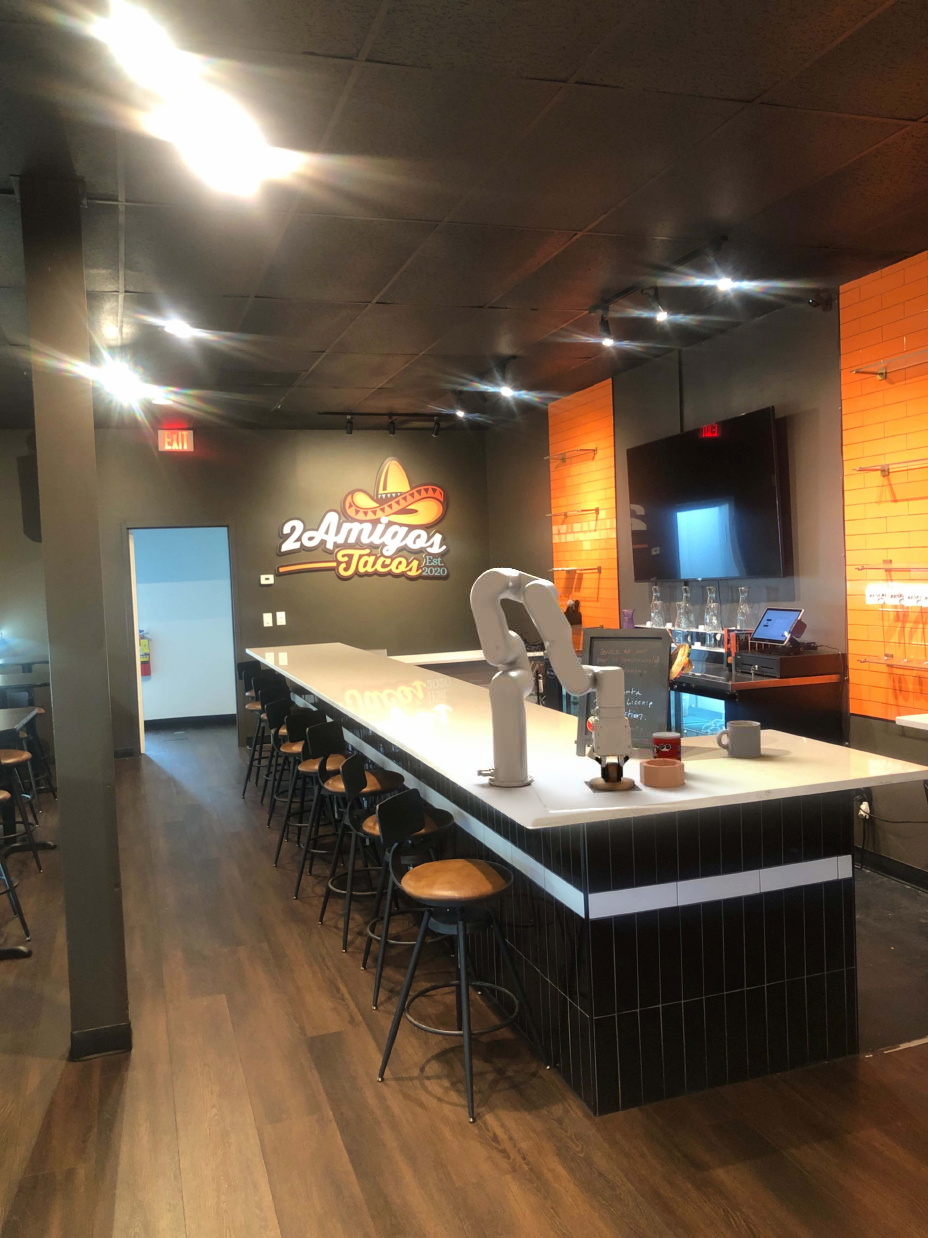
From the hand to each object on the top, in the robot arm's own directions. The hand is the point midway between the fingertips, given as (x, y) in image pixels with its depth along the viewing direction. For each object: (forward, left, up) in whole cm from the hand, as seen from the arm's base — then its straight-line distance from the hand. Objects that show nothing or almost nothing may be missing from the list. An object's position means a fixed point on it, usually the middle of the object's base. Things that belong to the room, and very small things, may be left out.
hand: (612, 780), depth 243 cm
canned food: (+20, +16, -2) cm, 26 cm away
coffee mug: (+48, +34, -2) cm, 59 cm away
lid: (0, 0, -2) cm, 2 cm away
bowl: (+14, +1, -2) cm, 14 cm away
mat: (0, 0, -2) cm, 2 cm away
